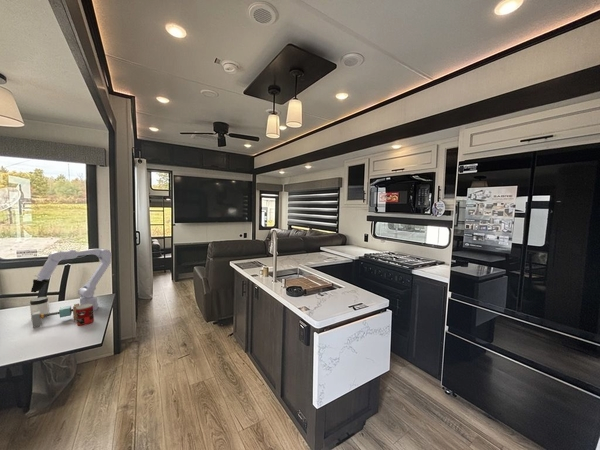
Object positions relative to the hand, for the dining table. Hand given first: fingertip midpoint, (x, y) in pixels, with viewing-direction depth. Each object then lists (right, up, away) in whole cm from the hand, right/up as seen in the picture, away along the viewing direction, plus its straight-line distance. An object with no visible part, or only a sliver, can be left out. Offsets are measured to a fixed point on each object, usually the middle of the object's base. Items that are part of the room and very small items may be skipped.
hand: (34, 291), depth 150 cm
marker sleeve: (+12, -17, +7) cm, 22 cm away
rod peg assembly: (+10, -20, +5) cm, 23 cm away
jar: (-9, -20, +12) cm, 25 cm away
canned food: (+29, -21, +3) cm, 36 cm away
